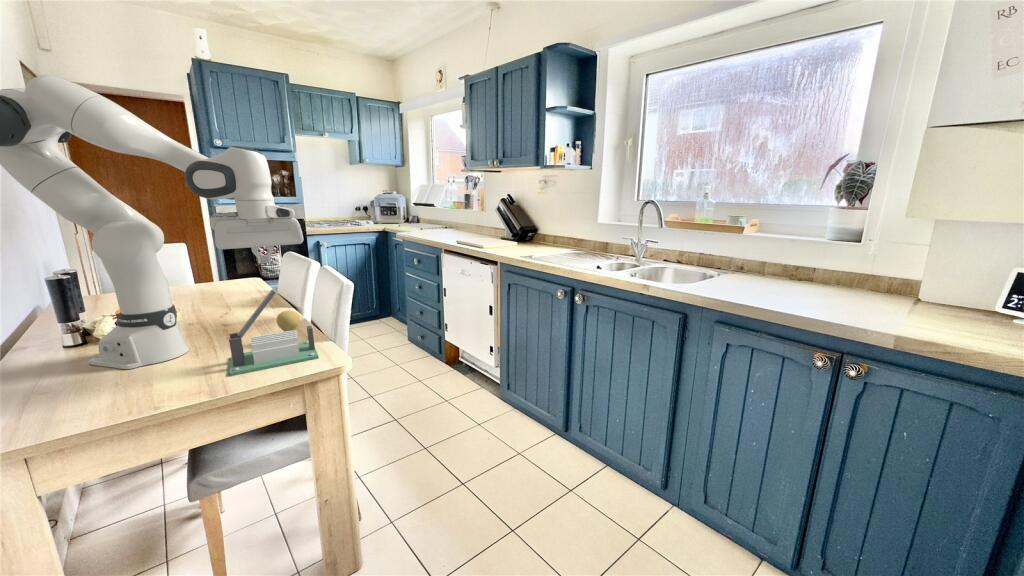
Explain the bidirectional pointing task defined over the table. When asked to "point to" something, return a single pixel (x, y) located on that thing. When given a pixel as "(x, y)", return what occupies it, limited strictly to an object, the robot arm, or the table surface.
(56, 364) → the table surface
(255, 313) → the strap
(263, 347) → the board
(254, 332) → the table surface
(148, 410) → the table surface
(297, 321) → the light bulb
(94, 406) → the table surface
